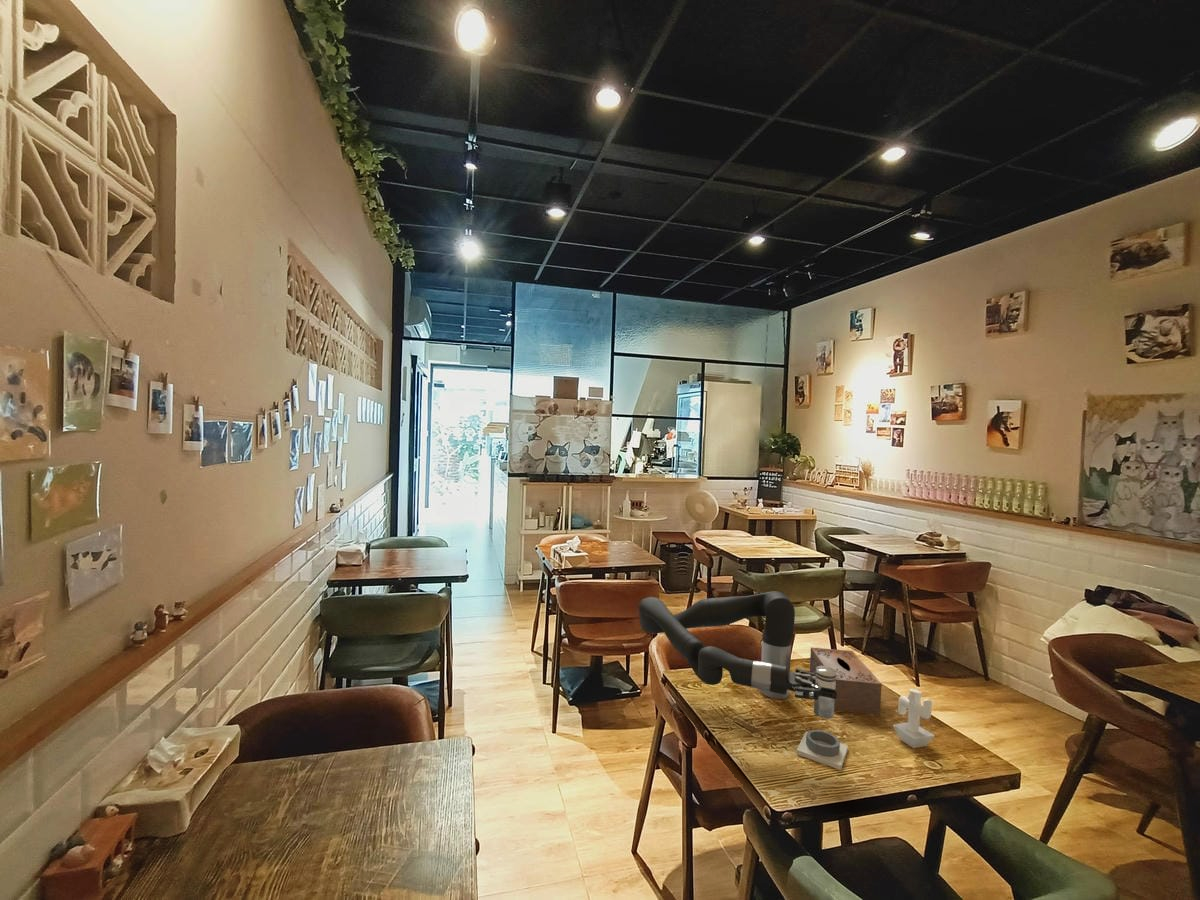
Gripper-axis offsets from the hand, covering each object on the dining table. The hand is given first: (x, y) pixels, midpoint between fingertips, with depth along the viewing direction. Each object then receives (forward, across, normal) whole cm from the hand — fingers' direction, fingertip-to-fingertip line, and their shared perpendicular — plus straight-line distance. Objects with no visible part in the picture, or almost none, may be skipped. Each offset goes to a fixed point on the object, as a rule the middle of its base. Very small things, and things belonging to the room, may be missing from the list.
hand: (835, 690), depth 138 cm
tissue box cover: (+5, -41, -18) cm, 45 cm away
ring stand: (-2, 0, -18) cm, 18 cm away
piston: (-3, 0, -7) cm, 8 cm away
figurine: (+22, -16, -18) cm, 32 cm away
